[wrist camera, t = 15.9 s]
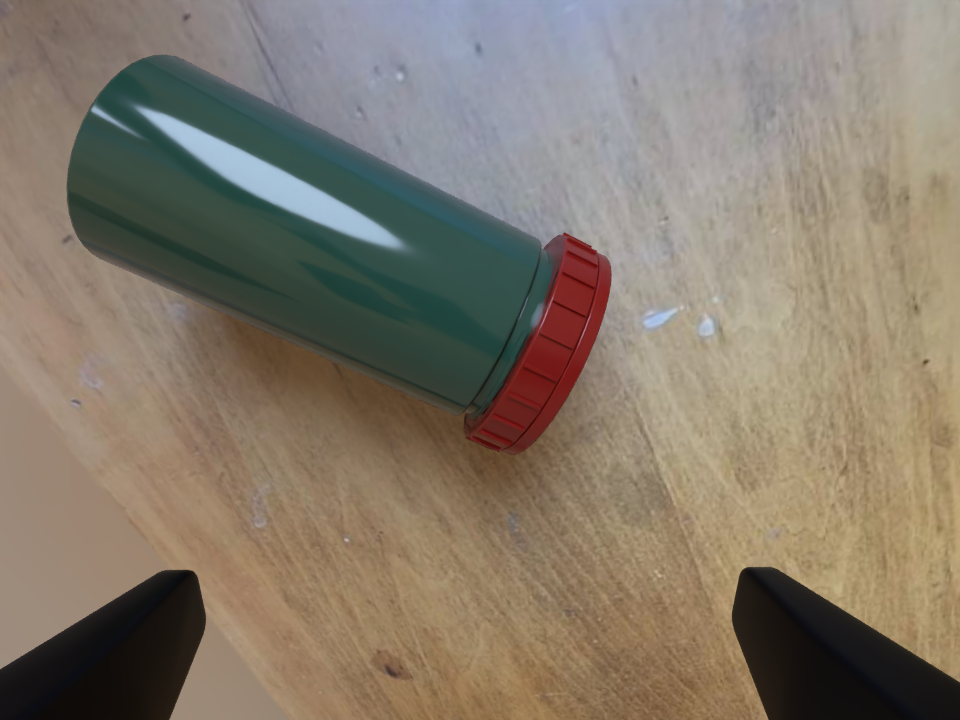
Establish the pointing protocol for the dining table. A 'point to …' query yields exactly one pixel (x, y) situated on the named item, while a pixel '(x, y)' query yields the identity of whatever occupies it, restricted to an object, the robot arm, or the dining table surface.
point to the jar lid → (549, 350)
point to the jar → (303, 235)
